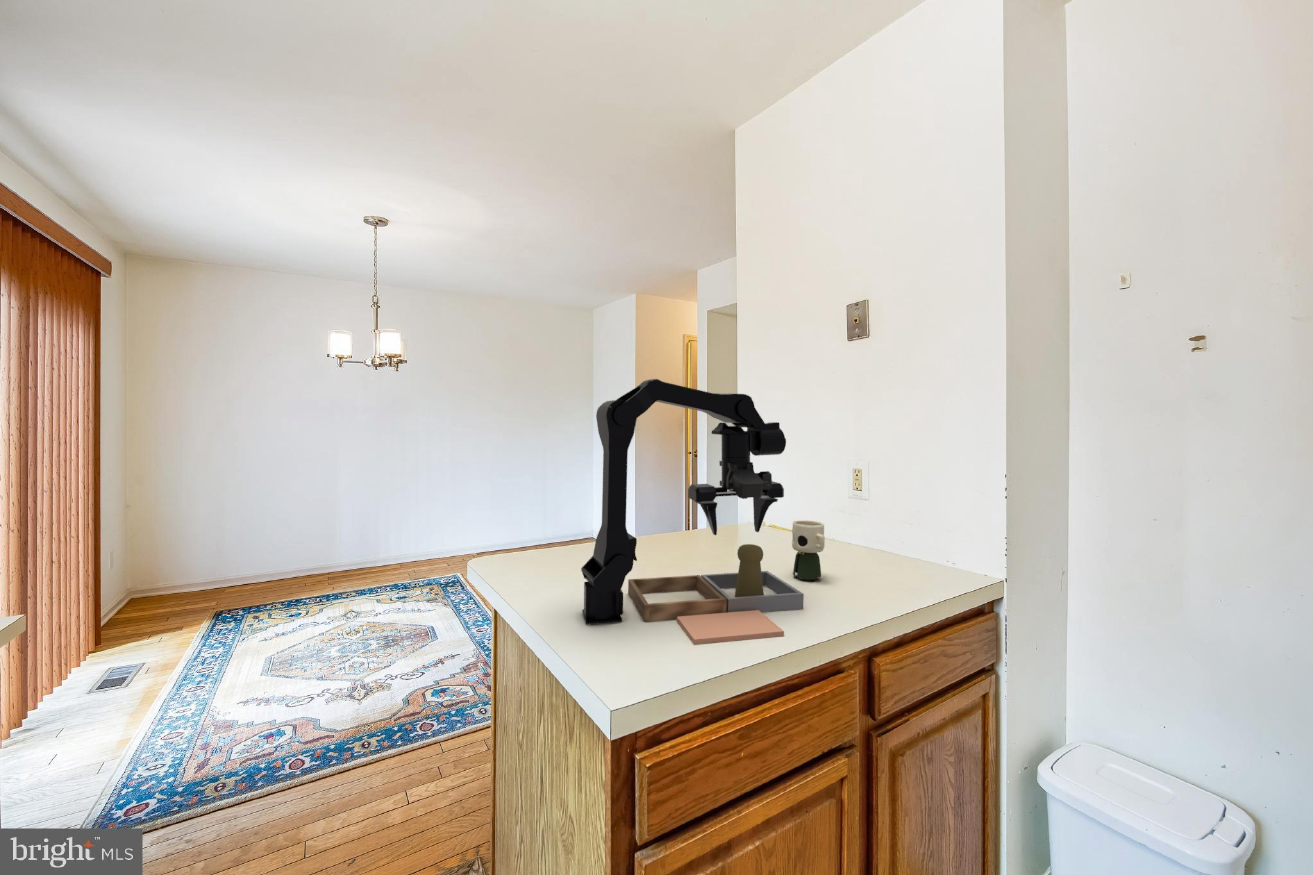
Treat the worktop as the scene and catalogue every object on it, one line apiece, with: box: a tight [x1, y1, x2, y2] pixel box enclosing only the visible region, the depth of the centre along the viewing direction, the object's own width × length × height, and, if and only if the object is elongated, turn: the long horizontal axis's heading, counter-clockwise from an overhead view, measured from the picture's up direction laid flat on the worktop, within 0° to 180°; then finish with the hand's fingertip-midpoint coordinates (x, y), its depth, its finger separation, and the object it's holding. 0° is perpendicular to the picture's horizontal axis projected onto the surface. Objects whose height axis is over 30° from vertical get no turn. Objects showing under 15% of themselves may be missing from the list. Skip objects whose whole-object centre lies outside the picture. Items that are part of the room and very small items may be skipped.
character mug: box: [791, 519, 826, 581], centre depth 120 cm, size 11×7×13 cm, turn 22°
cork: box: [734, 543, 765, 597], centre depth 106 cm, size 6×6×11 cm
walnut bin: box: [627, 574, 726, 623], centre depth 102 cm, size 16×16×3 cm
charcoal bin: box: [700, 570, 805, 613], centre depth 106 cm, size 16×16×3 cm
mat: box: [676, 610, 785, 645], centre depth 90 cm, size 16×10×1 cm, turn 104°
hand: (736, 533), depth 105 cm, fingers open, 9 cm apart
